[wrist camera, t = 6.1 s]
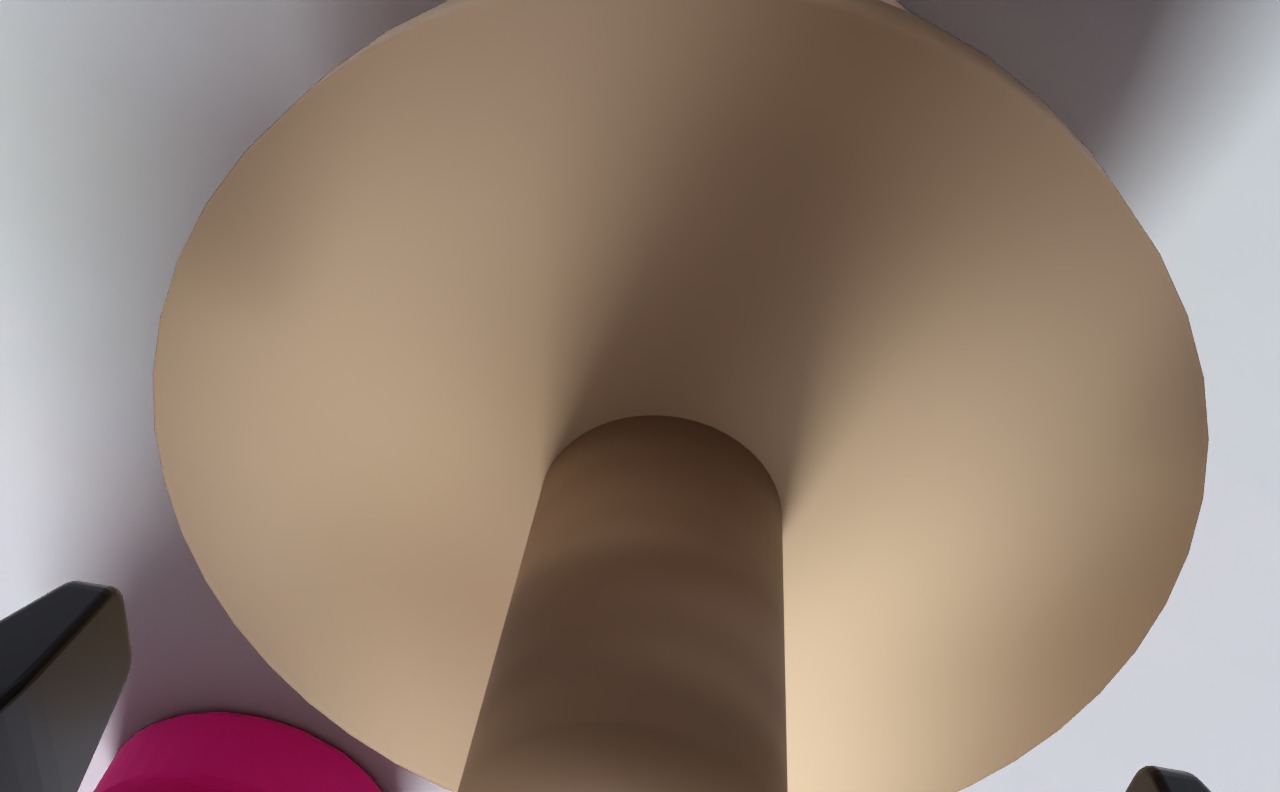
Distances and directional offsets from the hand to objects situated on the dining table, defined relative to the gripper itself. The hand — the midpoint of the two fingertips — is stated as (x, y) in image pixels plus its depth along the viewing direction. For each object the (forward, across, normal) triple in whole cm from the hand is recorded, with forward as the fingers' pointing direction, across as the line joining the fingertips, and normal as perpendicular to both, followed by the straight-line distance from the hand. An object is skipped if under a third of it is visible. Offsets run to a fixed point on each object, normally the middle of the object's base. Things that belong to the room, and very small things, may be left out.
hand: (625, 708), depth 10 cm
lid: (+4, 0, 0) cm, 4 cm away
